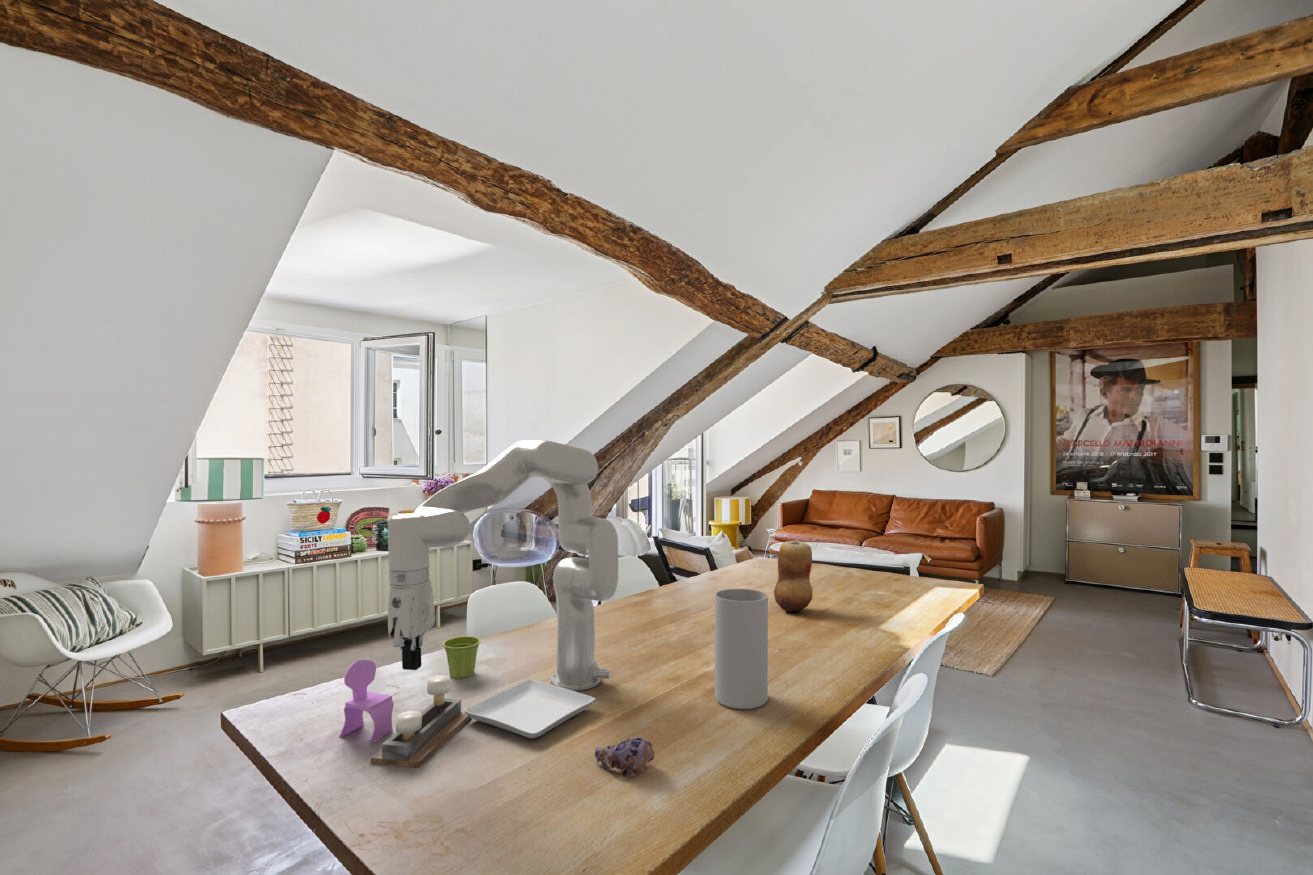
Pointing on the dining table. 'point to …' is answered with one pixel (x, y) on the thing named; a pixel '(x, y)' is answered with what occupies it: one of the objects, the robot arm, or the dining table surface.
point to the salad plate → (530, 708)
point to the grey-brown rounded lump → (626, 756)
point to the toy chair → (366, 701)
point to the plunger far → (438, 688)
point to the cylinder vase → (741, 648)
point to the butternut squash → (794, 576)
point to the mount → (423, 736)
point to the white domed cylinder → (408, 724)
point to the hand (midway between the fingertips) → (411, 668)
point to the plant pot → (461, 655)
